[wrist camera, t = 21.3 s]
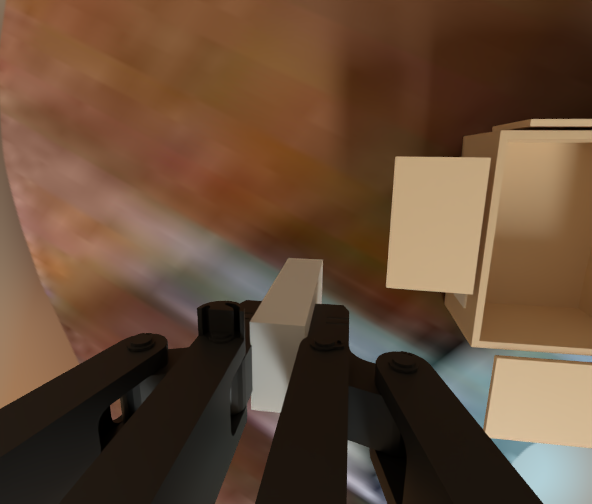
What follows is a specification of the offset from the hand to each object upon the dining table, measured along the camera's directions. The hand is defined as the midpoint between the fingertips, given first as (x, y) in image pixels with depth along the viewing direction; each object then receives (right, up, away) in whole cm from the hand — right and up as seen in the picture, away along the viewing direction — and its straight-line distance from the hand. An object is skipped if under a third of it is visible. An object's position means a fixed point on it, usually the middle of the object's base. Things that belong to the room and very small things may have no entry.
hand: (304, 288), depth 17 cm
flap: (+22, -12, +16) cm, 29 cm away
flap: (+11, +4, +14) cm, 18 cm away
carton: (+23, +4, +23) cm, 33 cm away
